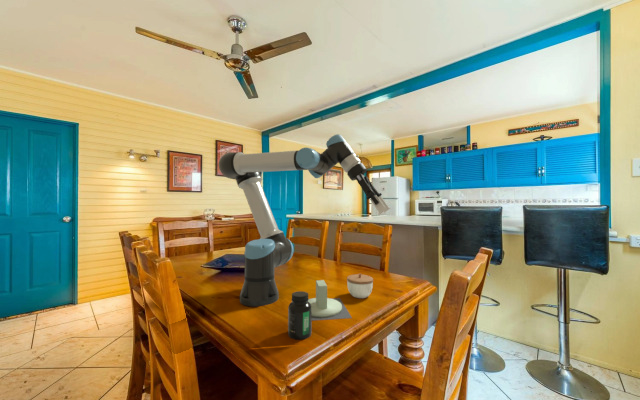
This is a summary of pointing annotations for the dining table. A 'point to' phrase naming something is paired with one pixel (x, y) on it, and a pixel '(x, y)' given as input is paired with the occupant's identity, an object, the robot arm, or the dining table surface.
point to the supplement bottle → (299, 316)
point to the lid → (324, 302)
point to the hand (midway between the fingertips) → (385, 211)
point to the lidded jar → (360, 285)
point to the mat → (341, 315)
